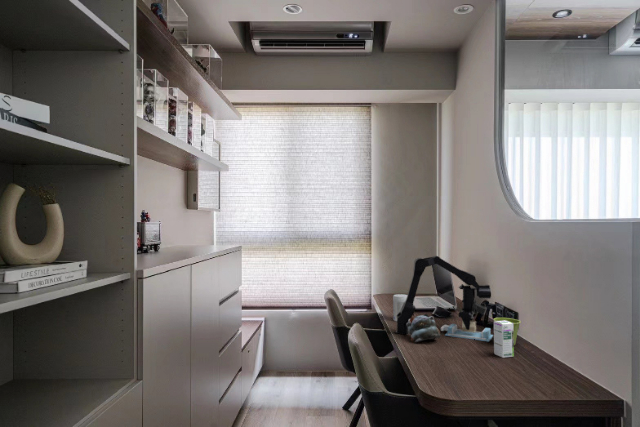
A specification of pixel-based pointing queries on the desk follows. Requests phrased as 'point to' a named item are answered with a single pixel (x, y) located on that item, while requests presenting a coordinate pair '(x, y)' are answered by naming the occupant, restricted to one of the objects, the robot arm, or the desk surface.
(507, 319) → the plant pot
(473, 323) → the beech block
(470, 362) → the desk surface
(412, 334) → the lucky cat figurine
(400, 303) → the supplement tub
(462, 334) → the vise base
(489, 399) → the desk surface
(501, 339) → the syrup box
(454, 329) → the sliding jaw
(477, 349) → the desk surface
